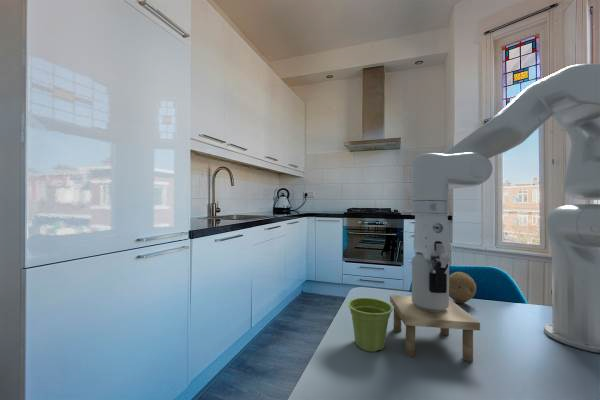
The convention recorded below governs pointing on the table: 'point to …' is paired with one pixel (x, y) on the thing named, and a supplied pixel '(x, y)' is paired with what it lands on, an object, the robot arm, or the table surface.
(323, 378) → the table surface
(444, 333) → the stool
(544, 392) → the table surface
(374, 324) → the plant pot
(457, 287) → the natural sponge
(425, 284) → the can
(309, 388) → the table surface
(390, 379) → the table surface
